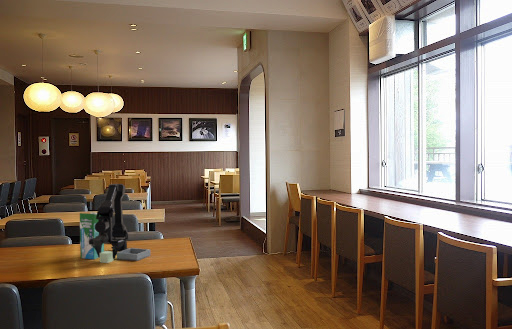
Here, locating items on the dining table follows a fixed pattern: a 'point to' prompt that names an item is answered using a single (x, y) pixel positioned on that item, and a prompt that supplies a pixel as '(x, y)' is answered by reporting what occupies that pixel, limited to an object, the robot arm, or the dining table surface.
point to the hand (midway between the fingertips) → (106, 258)
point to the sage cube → (106, 256)
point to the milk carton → (88, 235)
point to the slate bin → (133, 254)
